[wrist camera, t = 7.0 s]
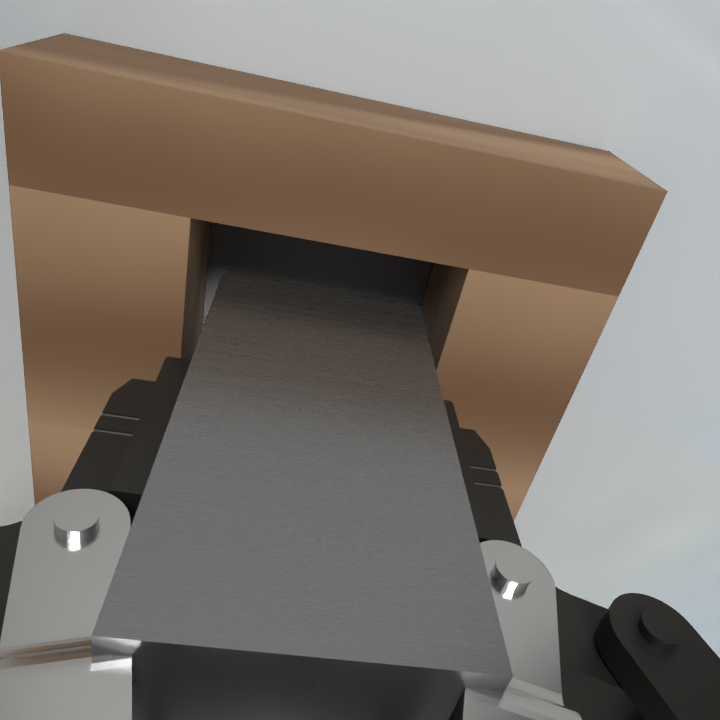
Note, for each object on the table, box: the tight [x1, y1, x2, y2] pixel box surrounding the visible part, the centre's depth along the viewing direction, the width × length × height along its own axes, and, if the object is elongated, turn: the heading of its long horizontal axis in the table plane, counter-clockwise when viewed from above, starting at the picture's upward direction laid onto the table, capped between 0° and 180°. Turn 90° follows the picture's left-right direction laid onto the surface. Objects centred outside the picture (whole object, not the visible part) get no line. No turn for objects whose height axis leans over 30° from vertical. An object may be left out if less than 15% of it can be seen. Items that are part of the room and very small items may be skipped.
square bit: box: [91, 271, 513, 720], centre depth 10 cm, size 4×4×8 cm
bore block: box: [0, 33, 668, 521], centre depth 17 cm, size 18×12×3 cm, turn 168°
